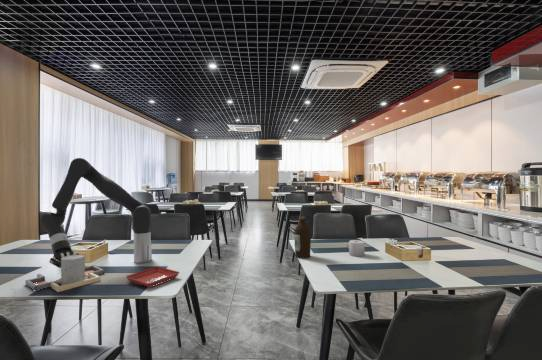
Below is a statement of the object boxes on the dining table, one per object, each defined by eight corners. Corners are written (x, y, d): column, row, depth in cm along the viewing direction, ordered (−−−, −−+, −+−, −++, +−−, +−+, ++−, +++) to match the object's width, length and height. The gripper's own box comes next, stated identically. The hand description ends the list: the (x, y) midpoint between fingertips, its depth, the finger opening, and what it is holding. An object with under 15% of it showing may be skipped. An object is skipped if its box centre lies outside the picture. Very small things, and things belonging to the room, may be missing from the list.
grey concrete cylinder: (89, 281, 142) (89, 255, 142) (68, 287, 133) (68, 260, 133) (77, 278, 146) (77, 253, 146) (56, 284, 137) (56, 258, 137)
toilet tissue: (349, 251, 197) (349, 238, 197) (367, 255, 187) (367, 241, 187) (341, 253, 191) (341, 240, 191) (359, 257, 181) (359, 243, 181)
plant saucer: (148, 290, 130) (148, 283, 130) (124, 282, 140) (124, 276, 140) (180, 278, 146) (180, 272, 146) (157, 272, 155) (157, 266, 155)
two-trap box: (21, 281, 141) (21, 277, 141) (88, 266, 164) (88, 263, 164) (41, 296, 123) (41, 291, 123) (113, 277, 147) (112, 273, 147)
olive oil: (305, 253, 191) (305, 215, 191) (314, 257, 181) (314, 217, 181) (291, 255, 187) (291, 216, 186) (299, 259, 177) (299, 218, 177)
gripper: (46, 242, 143) (55, 271, 136) (76, 237, 154) (86, 265, 146) (42, 251, 146) (51, 280, 139) (73, 246, 157) (82, 273, 150)
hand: (69, 272), depth 143 cm, fingers closed
